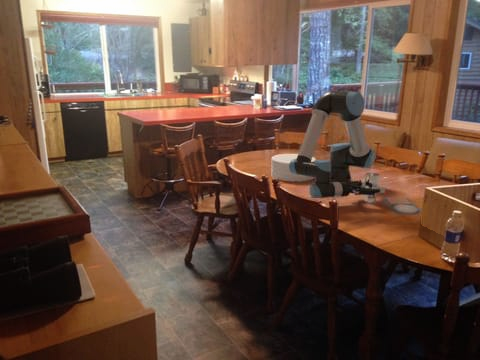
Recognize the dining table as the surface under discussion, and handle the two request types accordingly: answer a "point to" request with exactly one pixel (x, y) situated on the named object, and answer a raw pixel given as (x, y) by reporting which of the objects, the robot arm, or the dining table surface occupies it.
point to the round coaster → (405, 208)
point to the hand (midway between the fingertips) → (378, 186)
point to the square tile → (397, 201)
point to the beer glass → (371, 186)
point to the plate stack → (286, 168)
